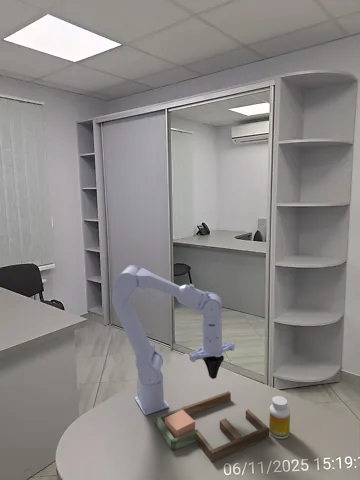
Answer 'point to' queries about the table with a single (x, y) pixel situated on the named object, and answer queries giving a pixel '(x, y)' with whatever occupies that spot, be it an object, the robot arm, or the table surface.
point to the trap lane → (231, 433)
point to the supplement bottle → (279, 418)
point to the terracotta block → (179, 423)
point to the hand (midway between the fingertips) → (212, 377)
